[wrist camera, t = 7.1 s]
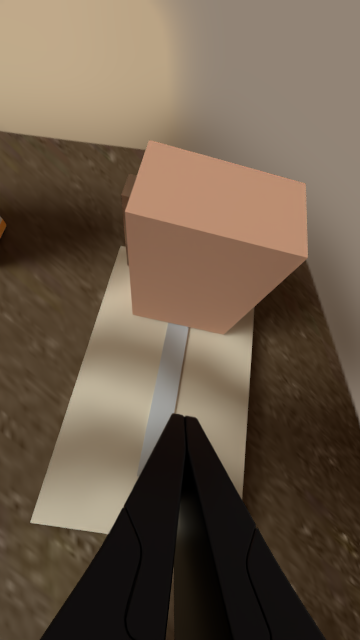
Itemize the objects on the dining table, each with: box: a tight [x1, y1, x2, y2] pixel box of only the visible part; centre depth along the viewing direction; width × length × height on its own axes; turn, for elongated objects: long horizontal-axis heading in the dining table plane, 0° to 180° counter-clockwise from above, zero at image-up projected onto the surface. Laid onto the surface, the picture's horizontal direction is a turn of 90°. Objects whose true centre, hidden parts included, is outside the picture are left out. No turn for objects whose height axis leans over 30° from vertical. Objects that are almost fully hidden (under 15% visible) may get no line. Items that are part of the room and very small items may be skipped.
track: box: [30, 174, 254, 534], centre depth 15 cm, size 19×12×8 cm, turn 170°
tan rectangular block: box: [125, 140, 308, 335], centre depth 14 cm, size 4×7×10 cm, turn 80°
